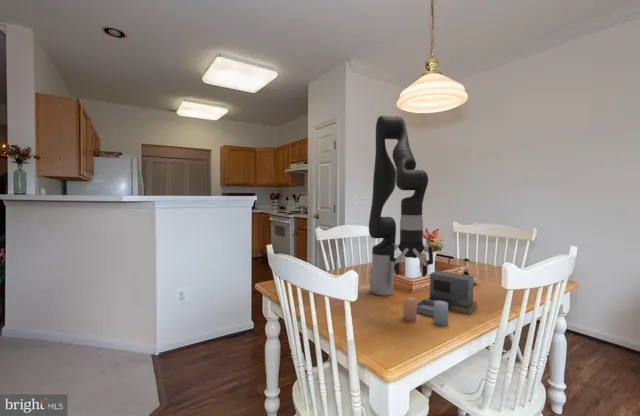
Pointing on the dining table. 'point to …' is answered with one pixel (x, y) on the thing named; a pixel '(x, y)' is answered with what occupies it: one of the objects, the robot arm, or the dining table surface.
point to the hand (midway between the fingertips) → (410, 274)
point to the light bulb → (467, 270)
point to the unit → (453, 291)
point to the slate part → (441, 313)
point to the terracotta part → (410, 309)
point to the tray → (425, 307)
